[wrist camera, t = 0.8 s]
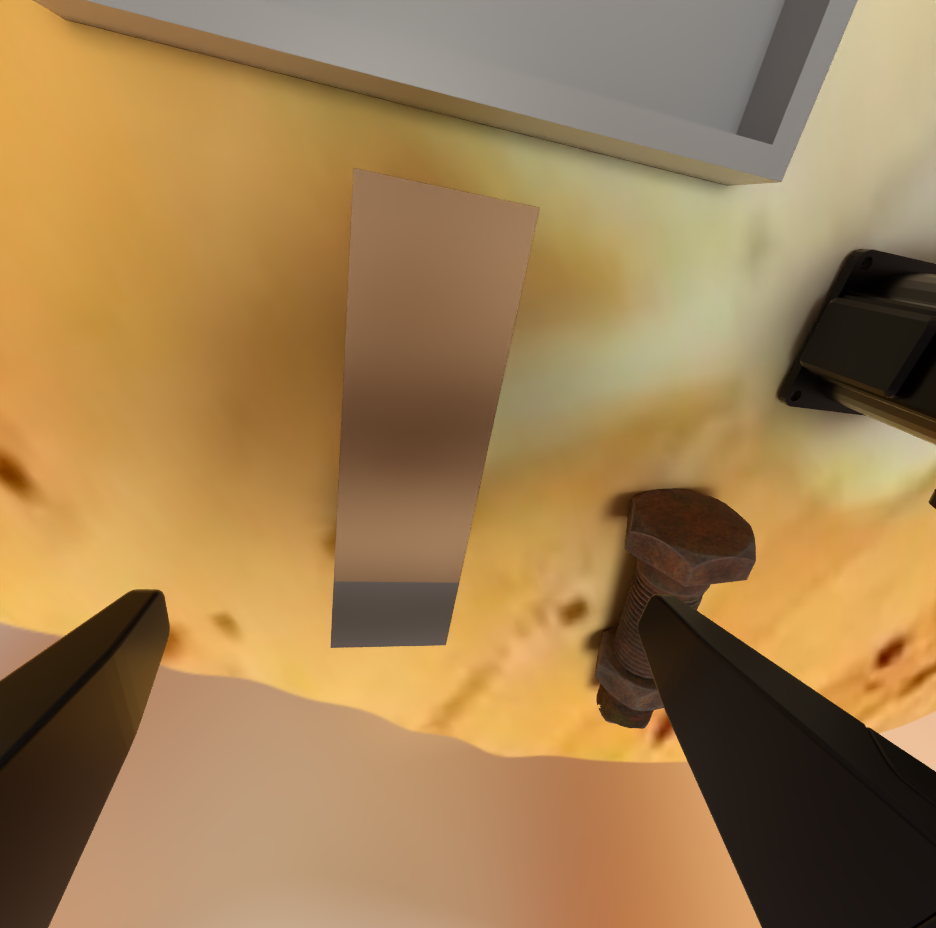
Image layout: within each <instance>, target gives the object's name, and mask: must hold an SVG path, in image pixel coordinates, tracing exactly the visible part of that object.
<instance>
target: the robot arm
mask: <svg viewBox="0 0 936 928" xmlns="http://www.w3.org/2000/svg"><path fill="white" fill-rule="evenodd" d="M862 261H863V263H862V265H861V262H862ZM860 265H861V266H860ZM793 393H794V394H793ZM792 394H793V395H792ZM791 395H792V396H791ZM779 400H780V401H781V402H782V403H784V404H787V405H789V406H793V407H801V408H809V409H817V410H826V411H834V412H842V413H850V414H858V415H866V416H869V417H871V418H874V419H876V420H878V421H881V422H883V423H885V424H888V425H890V426H893V427H895V428H897V429H900V430H902V431H904V432H907V433H909V434H911V435H914V436H916V437H918V438H921V439H923V440H925V441H928V442H930V443H933V444H935V445H936V264H933V263H929V262H924V261H920V260H916V259H911V258H907V257H903V256H898V255H894V254H890V253H885V252H881V251H877V250H870V249H859V250H857V251H855V252H854V253H853V254H852V255H851V256H850V257H849V259H848V260H847V262H846V264H845V266H844V268H843V270H842V272H841V274H840V276H839V278H838V280H837V282H836V284H835V286H834V288H833V290H832V292H831V294H830V295H829V297H828V299H827V301H826V303H825V305H824V307H823V309H822V311H821V313H820V315H819V317H818V319H817V321H816V323H815V325H814V327H813V329H812V331H811V333H810V335H809V336H808V338H807V340H806V342H805V344H804V346H803V348H802V350H801V352H800V354H799V356H798V358H797V360H796V362H795V364H794V366H793V368H792V370H791V372H790V374H789V375H788V377H787V379H786V381H785V383H784V385H783V387H782V389H781V391H780V394H779ZM929 503H930V504H931V505H932V506H933V507H934V508H935V509H936V489H935V490H934V492H933V494H932V496H931V498H930V500H929ZM169 632H170V624H169V619H168V613H167V607H166V602H165V597H164V594H163V592H162V591H160V590H149V589H136V590H132V591H130V592H128V593H126V594H125V595H123V596H122V597H120V598H119V599H118V600H116V601H115V602H113V603H112V604H110V605H109V606H107V607H106V608H105V609H103V610H102V611H100V612H99V613H97V614H96V615H94V616H93V617H92V618H90V619H89V620H87V621H86V622H84V623H83V624H81V625H80V626H79V627H77V628H76V629H74V630H73V631H71V632H70V633H68V634H67V635H65V636H64V637H63V638H61V639H60V640H58V641H57V642H55V643H54V644H52V645H51V646H50V647H48V648H47V649H45V650H44V651H42V652H41V653H40V654H38V655H37V656H35V657H34V658H32V659H31V660H29V661H28V662H26V663H25V664H24V665H22V666H21V667H19V668H18V669H16V670H15V671H13V672H12V673H11V674H9V675H8V676H6V677H5V678H4V679H2V680H1V681H0V928H48V927H49V925H50V923H51V920H52V918H53V916H54V914H55V912H56V909H57V907H58V905H59V903H60V901H61V899H62V896H63V894H64V892H65V890H66V888H67V885H68V883H69V881H70V879H71V876H72V874H73V872H74V870H75V868H76V866H77V863H78V861H79V859H80V857H81V855H82V853H83V850H84V848H85V846H86V844H87V842H88V839H89V837H90V835H91V833H92V831H93V829H94V826H95V824H96V822H97V820H98V817H99V815H100V813H101V811H102V809H103V807H104V805H105V802H106V800H107V798H108V796H109V793H110V791H111V789H112V787H113V785H114V783H115V781H116V778H117V776H118V774H119V772H120V770H121V767H122V765H123V763H124V761H125V758H126V756H127V754H128V752H129V750H130V747H131V745H132V743H133V740H134V738H135V735H136V733H137V730H138V727H139V724H140V722H141V719H142V716H143V713H144V710H145V707H146V704H147V701H148V698H149V695H150V692H151V689H152V686H153V683H154V680H155V677H156V674H157V671H158V668H159V665H160V662H161V659H162V656H163V653H164V650H165V647H166V644H167V641H168V637H169ZM638 634H639V637H640V640H641V643H642V646H643V649H644V652H645V655H646V658H647V661H648V663H649V666H650V669H651V672H652V675H653V678H654V681H655V684H656V687H657V690H658V693H659V696H660V698H661V701H662V704H663V706H664V709H665V711H666V713H667V716H668V718H669V721H670V723H671V725H672V727H673V730H674V732H675V734H676V736H677V738H678V741H679V743H680V745H681V747H682V750H683V752H684V754H685V756H686V759H687V761H688V763H689V765H690V767H691V770H692V772H693V774H694V777H695V779H696V781H697V783H698V786H699V788H700V790H701V792H702V794H703V797H704V799H705V801H706V803H707V806H708V808H709V810H710V812H711V815H712V817H713V819H714V821H715V823H716V826H717V828H718V830H719V833H720V835H721V837H722V839H723V842H724V844H725V846H726V848H727V850H728V853H729V855H730V857H731V859H732V862H733V864H734V866H735V868H736V870H737V873H738V875H739V877H740V880H741V882H742V884H743V886H744V888H745V891H746V893H747V895H748V898H749V900H750V902H751V904H752V906H753V909H754V911H755V913H756V915H757V918H758V920H759V922H760V924H761V927H762V928H936V772H935V771H934V770H932V769H931V768H929V767H928V766H926V765H925V764H923V763H922V762H920V761H919V760H917V759H916V758H914V757H913V756H911V755H910V754H908V753H907V752H905V751H904V750H902V749H901V748H899V747H898V746H896V745H894V744H893V743H892V742H890V741H888V740H887V739H886V738H884V737H883V736H881V735H880V734H878V733H877V732H875V731H874V730H872V729H871V728H868V727H867V728H866V726H865V725H864V724H863V723H862V722H860V721H859V720H858V719H856V718H855V717H853V716H852V715H850V714H849V713H847V712H846V711H844V710H843V709H841V708H840V707H838V706H837V705H835V704H834V703H832V702H831V701H829V700H828V699H826V698H825V697H824V696H822V695H821V694H819V693H818V692H816V691H815V690H813V689H812V688H810V687H809V686H807V685H806V684H804V683H803V682H801V681H800V680H798V679H797V678H795V677H794V676H792V675H791V674H790V673H788V672H787V671H785V670H784V669H782V668H781V667H779V666H778V665H776V664H775V663H773V662H772V661H770V660H769V659H767V658H766V657H764V656H763V655H761V654H760V653H758V652H757V651H756V650H754V649H753V648H751V647H750V646H748V645H747V644H745V643H744V642H742V641H741V640H739V639H738V638H736V637H735V636H733V635H732V634H730V633H729V632H727V631H726V630H725V629H723V628H722V627H720V626H719V625H717V624H716V623H714V622H713V621H711V620H710V619H708V618H707V617H705V616H704V615H702V614H701V613H699V612H698V611H696V610H695V609H693V608H692V607H691V606H689V605H688V604H686V603H685V602H683V601H682V600H680V599H679V598H677V597H676V596H674V595H671V594H654V595H652V596H651V597H650V598H649V600H648V602H647V604H646V607H645V609H644V611H643V613H642V615H641V617H640V619H639V621H638Z"/></svg>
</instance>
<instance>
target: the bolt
mask: <svg viewBox="0 0 936 928" xmlns="http://www.w3.org/2000/svg"><path fill="white" fill-rule="evenodd" d="M625 550H626V551H627V552H629V553H631V554H632V555H634V556H636V557H637V567H636V570H635V574H634V576H633V580H632V584H631V586H630V590H629V593H628V597H627V599H626V603H625V605H624V609H623V612H622V616H621V620H620V622H619V625H618V626H615V627H612V628H610V629H607V630H605V631H603V635H602V638H601V642H600V646H599V651H598V658H597V665H596V678H597V679H598V680H599V682H600V683H601V684H600V687H599V690H598V693H597V705H598V704H599V705H601V706H600V707H601V708H599V710H600V712H601V715H602V716H603V717H604V719H605V720H606V721H607V722H610V723H615V724H618V725H620V726H624V727H628V728H641V729H643V728H645V727H646V726H647V724H648V723H649V721H650V718H651V715H652V713H653V711H654V710H656V709H661V708H664V706H663V704H662V701H661V698H660V696H659V693H658V690H657V687H656V684H655V681H654V678H653V675H652V672H651V669H650V666H649V663H648V661H647V658H646V655H645V652H644V649H643V646H642V643H641V640H640V637H639V634H638V621H639V619H640V617H641V615H642V613H643V611H644V609H645V607H646V604H647V602H648V600H649V598H650V597H651V596H652V595H654V594H671V595H674V596H676V597H677V598H679V599H680V600H682V601H683V602H685V603H686V604H688V605H689V606H691V607H692V608H693V609H695V610H696V611H697V608H698V606H699V604H700V602H701V599H702V596H703V594H704V593H705V591H707V589H708V588H709V586H710V584H716V583H725V582H734V581H742V580H747V578H748V576H749V574H750V572H751V570H752V568H753V566H754V563H755V561H756V546H755V537H754V534H753V531H752V528H751V526H750V524H749V523H748V522H747V521H745V520H744V519H743V518H742V517H741V516H740V515H739V514H738V513H737V512H735V511H734V510H733V509H732V508H730V507H729V506H728V505H727V504H725V503H723V502H721V501H720V500H718V499H715V498H713V497H710V496H707V495H703V494H699V493H696V492H692V491H687V490H681V489H675V488H674V489H657V490H651V491H647V492H644V493H642V494H639V495H637V496H634V497H633V499H632V503H631V507H630V510H629V514H628V521H627V531H626V540H625Z"/></svg>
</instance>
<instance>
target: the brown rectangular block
mask: <svg viewBox="0 0 936 928" xmlns="http://www.w3.org/2000/svg"><path fill="white" fill-rule="evenodd" d="M538 213H539V207H534V206H530V205H525V204H520V203H516V202H511V201H506V200H502V199H497V198H492V197H487V196H483V195H478V194H473V193H469V192H464V191H459V190H455V189H450V188H445V187H441V186H436V185H431V184H426V183H422V182H417V181H412V180H408V179H403V178H398V177H394V176H389V175H384V174H379V173H375V172H370V171H365V170H361V169H356V168H354V169H353V190H352V211H351V232H350V253H349V274H348V295H347V316H346V337H345V358H344V379H343V400H342V421H341V442H340V463H339V484H338V504H337V525H336V546H335V567H334V588H333V609H332V630H331V648H342V647H386V646H431V645H446V641H447V637H448V632H449V627H450V623H451V618H452V613H453V609H454V604H455V599H456V595H457V590H458V585H459V581H460V576H461V572H462V567H463V562H464V558H465V553H466V548H467V544H468V539H469V534H470V530H471V525H472V520H473V516H474V511H475V506H476V502H477V497H478V492H479V488H480V483H481V478H482V474H483V469H484V464H485V460H486V455H487V450H488V446H489V441H490V436H491V432H492V427H493V422H494V418H495V413H496V409H497V404H498V399H499V395H500V390H501V385H502V381H503V376H504V371H505V367H506V362H507V357H508V353H509V348H510V343H511V339H512V334H513V329H514V325H515V320H516V315H517V311H518V306H519V301H520V297H521V292H522V287H523V283H524V278H525V273H526V269H527V264H528V259H529V255H530V250H531V246H532V241H533V236H534V232H535V227H536V222H537V218H538Z"/></svg>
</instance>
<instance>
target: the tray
mask: <svg viewBox="0 0 936 928" xmlns="http://www.w3.org/2000/svg"><path fill="white" fill-rule="evenodd" d="M34 1H35V2H37V3H39V4H40V5H42V6H44V7H45V8H47V9H49V10H50V11H52V12H54V13H55V14H57V15H59V16H60V17H62V18H64V19H65V20H69V21H73V22H77V23H81V24H85V25H89V26H93V27H97V28H101V29H105V30H109V31H113V32H117V33H121V34H125V35H129V36H133V37H137V38H141V39H145V40H149V41H153V42H157V43H161V44H165V45H169V46H173V47H177V48H181V49H185V50H189V51H193V52H197V53H201V54H205V55H209V56H213V57H217V58H221V59H225V60H229V61H233V62H237V63H241V64H245V65H249V66H253V67H257V68H261V69H265V70H269V71H273V72H277V73H281V74H285V75H289V76H293V77H297V78H301V79H305V80H309V81H313V82H317V83H321V84H325V85H329V86H333V87H337V88H341V89H345V90H349V91H353V92H357V93H361V94H365V95H369V96H373V97H377V98H381V99H385V100H389V101H393V102H397V103H401V104H405V105H409V106H413V107H417V108H421V109H424V110H428V111H432V112H436V113H440V114H444V115H448V116H452V117H456V118H460V119H464V120H468V121H472V122H476V123H480V124H484V125H488V126H492V127H496V128H500V129H504V130H508V131H512V132H516V133H520V134H524V135H528V136H532V137H536V138H540V139H544V140H548V141H552V142H556V143H560V144H564V145H568V146H572V147H576V148H580V149H584V150H588V151H592V152H596V153H600V154H604V155H608V156H612V157H616V158H620V159H624V160H628V161H632V162H636V163H640V164H644V165H648V166H652V167H656V168H660V169H664V170H668V171H672V172H676V173H680V174H684V175H688V176H692V177H696V178H700V179H704V180H708V181H712V182H716V183H720V184H724V185H742V184H758V183H773V182H781V181H782V179H783V177H784V174H785V172H786V170H787V167H788V165H789V162H790V160H791V158H792V155H793V153H794V150H795V148H796V146H797V143H798V141H799V139H800V136H801V134H802V131H803V129H804V127H805V124H806V122H807V120H808V117H809V115H810V112H811V110H812V108H813V105H814V103H815V100H816V98H817V96H818V93H819V91H820V89H821V86H822V84H823V81H824V79H825V77H826V74H827V72H828V70H829V67H830V65H831V62H832V60H833V58H834V55H835V53H836V50H837V48H838V46H839V43H840V41H841V39H842V36H843V34H844V31H845V29H846V27H847V24H848V22H849V20H850V17H851V15H852V12H853V10H854V8H855V5H856V3H857V0H34Z"/></svg>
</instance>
